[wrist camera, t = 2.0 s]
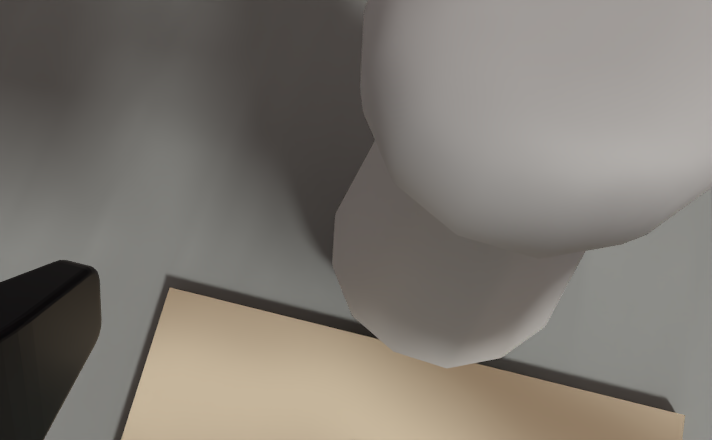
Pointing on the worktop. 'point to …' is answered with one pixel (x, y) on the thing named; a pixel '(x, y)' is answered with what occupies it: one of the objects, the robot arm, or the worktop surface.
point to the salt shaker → (514, 158)
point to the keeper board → (347, 388)
